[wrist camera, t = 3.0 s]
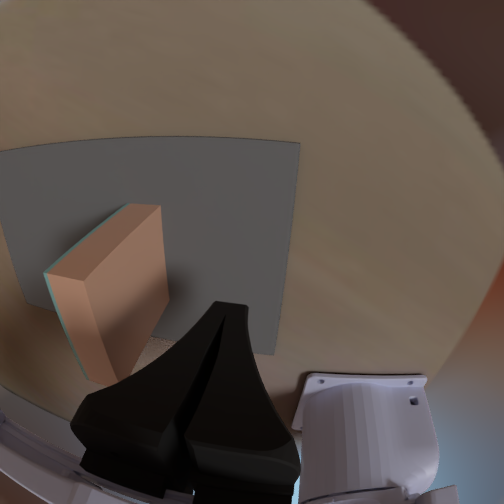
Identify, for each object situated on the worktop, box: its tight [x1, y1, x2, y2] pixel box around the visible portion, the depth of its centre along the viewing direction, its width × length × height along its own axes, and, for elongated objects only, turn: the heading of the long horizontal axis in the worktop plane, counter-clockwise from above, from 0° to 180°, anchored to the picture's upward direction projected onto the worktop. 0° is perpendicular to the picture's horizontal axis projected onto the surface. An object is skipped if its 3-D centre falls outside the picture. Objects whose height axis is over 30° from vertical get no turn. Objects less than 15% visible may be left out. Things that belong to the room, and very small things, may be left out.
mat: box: [0, 136, 300, 355], centre depth 17 cm, size 21×13×1 cm, turn 87°
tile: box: [43, 203, 170, 387], centre depth 13 cm, size 2×6×7 cm, turn 177°
